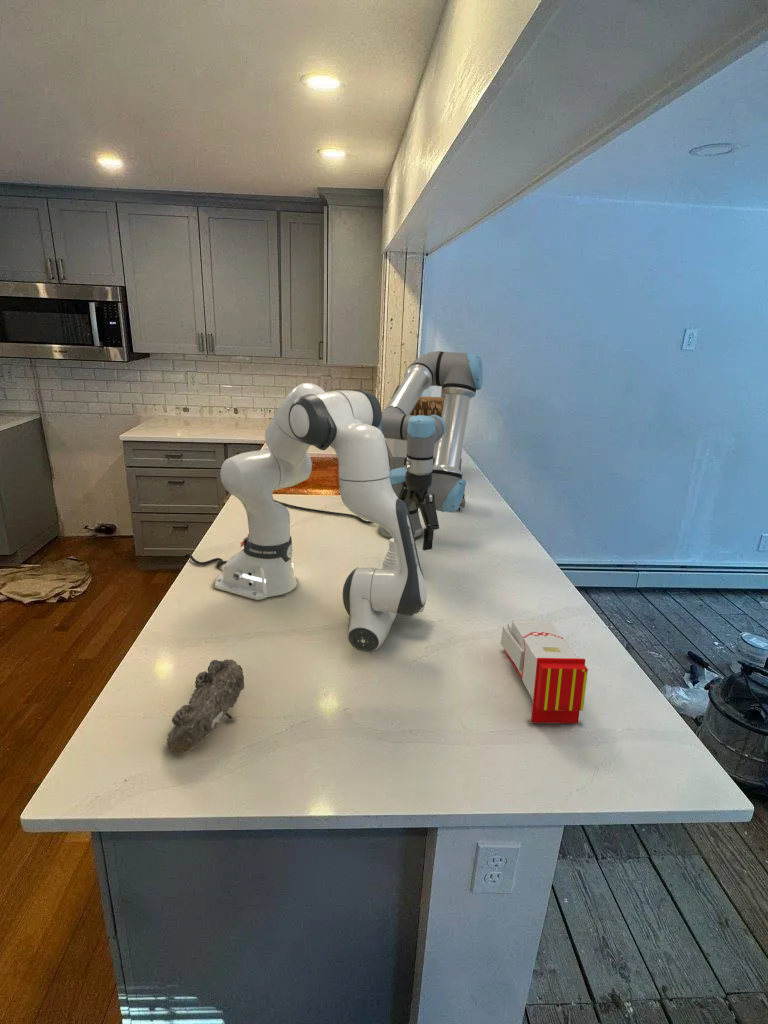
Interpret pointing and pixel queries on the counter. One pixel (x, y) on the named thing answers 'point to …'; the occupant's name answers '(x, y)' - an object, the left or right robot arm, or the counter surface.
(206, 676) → the fossil
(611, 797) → the counter surface
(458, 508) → the figurine character
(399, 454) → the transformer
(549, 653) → the toy
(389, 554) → the bottle
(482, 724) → the counter surface
